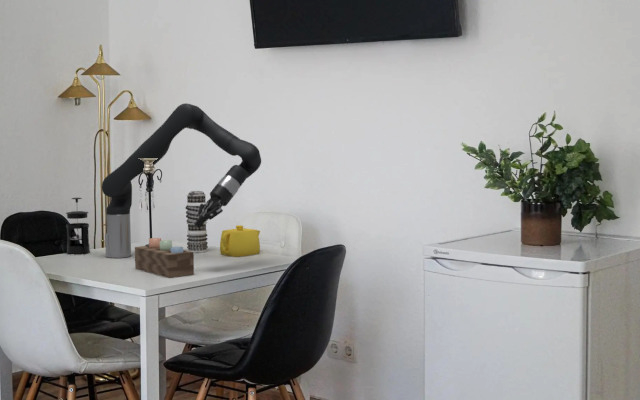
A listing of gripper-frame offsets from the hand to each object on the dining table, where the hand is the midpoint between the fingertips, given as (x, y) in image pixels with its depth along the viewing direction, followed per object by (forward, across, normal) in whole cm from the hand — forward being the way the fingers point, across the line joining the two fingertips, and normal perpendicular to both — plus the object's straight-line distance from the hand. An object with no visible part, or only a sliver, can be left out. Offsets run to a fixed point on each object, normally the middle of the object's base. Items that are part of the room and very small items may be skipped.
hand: (196, 226), depth 306 cm
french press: (+22, -71, +1) cm, 74 cm away
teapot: (-13, -25, +37) cm, 46 cm away
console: (+18, -8, +5) cm, 21 cm away
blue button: (+15, 0, +3) cm, 15 cm away
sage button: (+14, -8, +2) cm, 16 cm away
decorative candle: (-6, -43, +30) cm, 53 cm away
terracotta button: (+14, -16, +2) cm, 21 cm away
